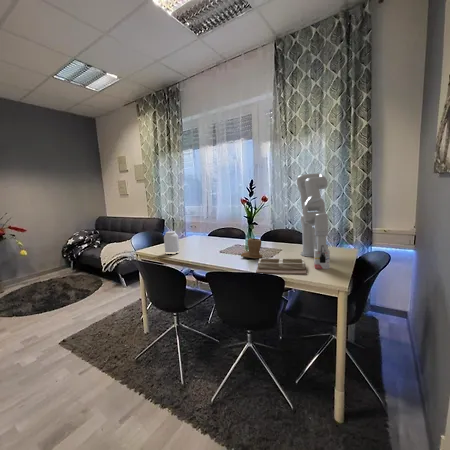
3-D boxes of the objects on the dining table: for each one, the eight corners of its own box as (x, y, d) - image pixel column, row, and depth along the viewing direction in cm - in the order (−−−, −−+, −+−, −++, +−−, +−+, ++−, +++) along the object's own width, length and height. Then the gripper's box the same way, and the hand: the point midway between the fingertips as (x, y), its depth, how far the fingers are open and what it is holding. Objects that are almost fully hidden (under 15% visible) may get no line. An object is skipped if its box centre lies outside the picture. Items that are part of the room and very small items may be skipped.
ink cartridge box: (315, 269, 149) (314, 246, 147) (314, 266, 154) (313, 244, 151) (329, 269, 147) (329, 245, 145) (328, 266, 152) (328, 244, 149)
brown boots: (265, 256, 184) (264, 237, 182) (257, 260, 174) (256, 240, 172) (248, 254, 193) (247, 236, 191) (240, 258, 183) (239, 239, 181)
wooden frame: (260, 261, 171) (259, 255, 171) (304, 262, 163) (303, 255, 163) (255, 273, 148) (255, 266, 148) (306, 274, 140) (306, 267, 140)
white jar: (180, 254, 209) (177, 231, 206) (165, 256, 206) (163, 233, 203) (179, 251, 221) (177, 229, 218) (165, 252, 218) (163, 231, 215)
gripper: (313, 230, 156) (314, 256, 159) (316, 236, 140) (316, 265, 142) (325, 230, 154) (326, 256, 157) (330, 235, 138) (330, 265, 140)
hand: (321, 260), depth 149 cm, fingers open, 7 cm apart
